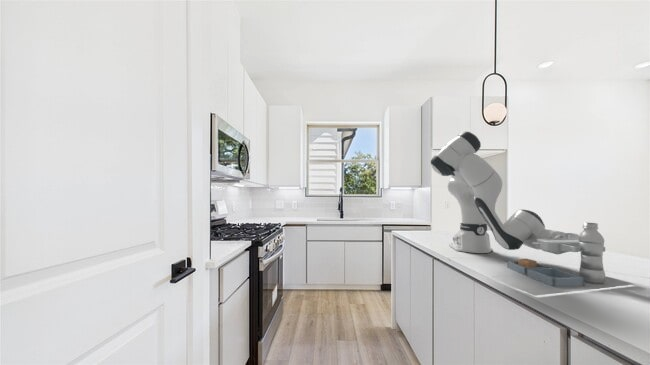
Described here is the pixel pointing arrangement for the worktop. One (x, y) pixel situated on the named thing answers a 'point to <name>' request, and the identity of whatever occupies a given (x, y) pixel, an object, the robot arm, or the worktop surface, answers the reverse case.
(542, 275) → the tray
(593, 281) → the plastic bottle
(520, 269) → the blue-gray square tray
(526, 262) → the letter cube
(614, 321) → the worktop surface
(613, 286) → the worktop surface
